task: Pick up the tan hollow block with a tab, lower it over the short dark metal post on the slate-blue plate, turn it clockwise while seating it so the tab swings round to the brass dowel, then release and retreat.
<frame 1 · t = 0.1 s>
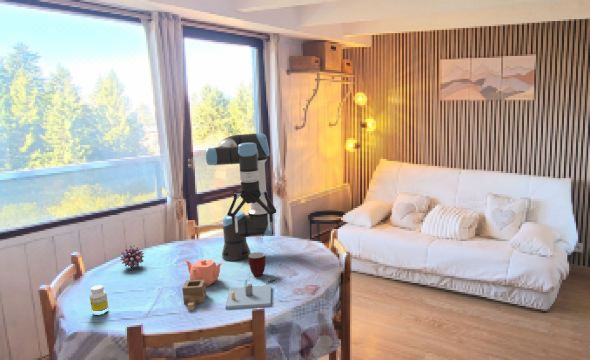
hand: (253, 230, 188), 28 cm above the table, fingers open, 13 cm apart
tan hollow block: (195, 299, 191), on the table
teapot: (203, 284, 207), on the table
post plate: (249, 297, 190), on the table
pill bottle: (100, 313, 183), on the table
spiky ball: (133, 268, 232), on the table
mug: (258, 276, 212), on the table
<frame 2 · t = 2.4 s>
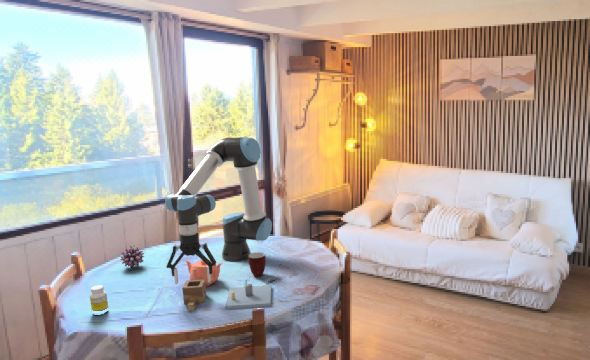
hand: (193, 282, 189), 8 cm above the table, fingers open, 13 cm apart
nothing on the table moved.
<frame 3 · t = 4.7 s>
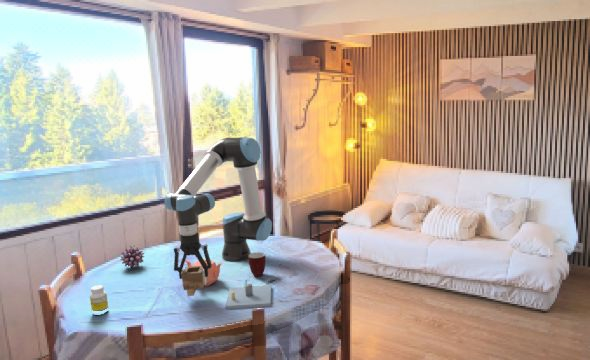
hand: (194, 284, 190), 6 cm above the table, fingers closed on tan hollow block, 8 cm apart
tan hollow block: (195, 285, 190), point 6 cm above the table, touching gripper
everything else where it was.
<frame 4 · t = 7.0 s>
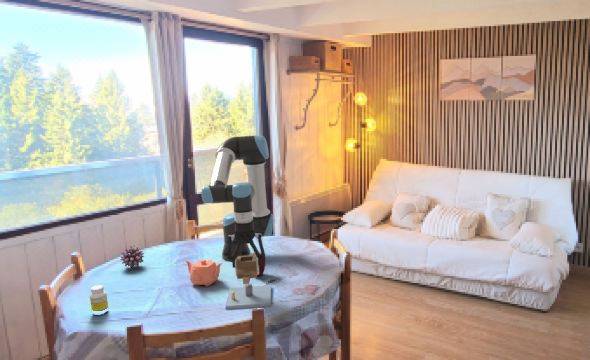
hand: (247, 274, 187), 11 cm above the table, fingers closed on tan hollow block, 8 cm apart
tan hollow block: (247, 274, 187), point 10 cm above the table, touching gripper
everything else where it was.
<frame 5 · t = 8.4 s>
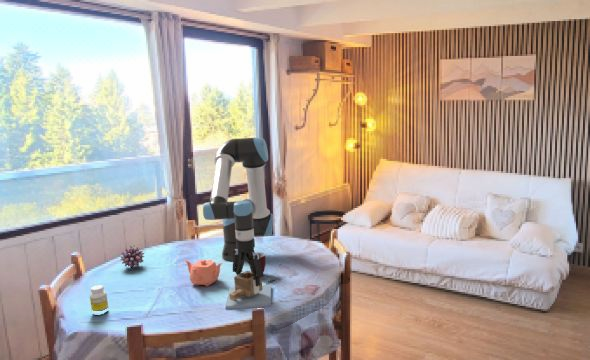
hand: (248, 290, 189), 3 cm above the table, fingers closed on tan hollow block, 8 cm apart
tan hollow block: (248, 291, 189), point 3 cm above the table, touching gripper
everything else where it was.
when the fingers open (3 cm above the table, at t = 9.3 s): tan hollow block drops 2 cm, resting on post plate.
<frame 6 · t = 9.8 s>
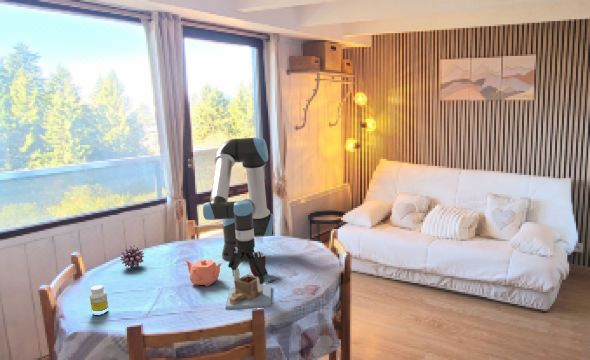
hand: (248, 287, 189), 5 cm above the table, fingers open, 13 cm apart
tan hollow block: (249, 295, 189), point 1 cm above the table, touching post plate
everything else where it was.
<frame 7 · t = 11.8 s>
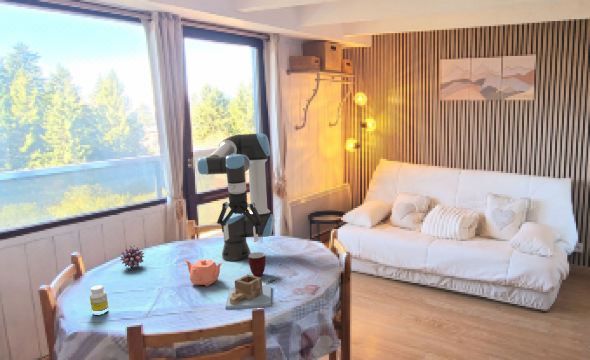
hand: (241, 240, 192), 23 cm above the table, fingers open, 13 cm apart
nothing on the table moved.
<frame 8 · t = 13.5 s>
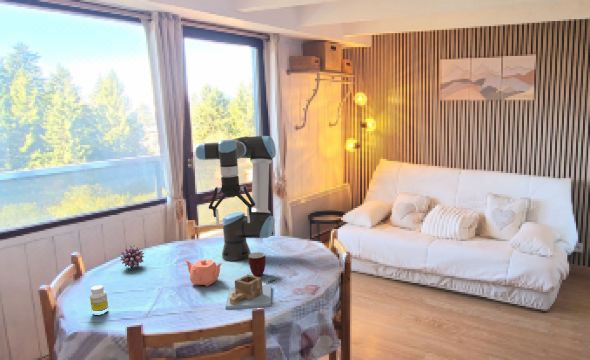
hand: (233, 223, 199), 29 cm above the table, fingers open, 13 cm apart
nothing on the table moved.
at the end: tan hollow block 0.0 cm off-centre on the post plate, point 1.2 cm above the post plate's base; tan hollow block tilted 0°; the gripper is holding nothing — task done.
